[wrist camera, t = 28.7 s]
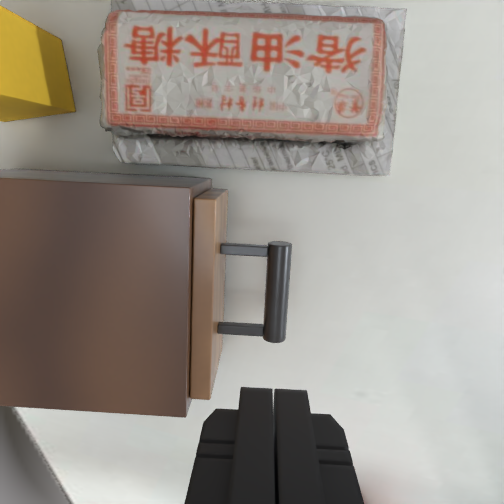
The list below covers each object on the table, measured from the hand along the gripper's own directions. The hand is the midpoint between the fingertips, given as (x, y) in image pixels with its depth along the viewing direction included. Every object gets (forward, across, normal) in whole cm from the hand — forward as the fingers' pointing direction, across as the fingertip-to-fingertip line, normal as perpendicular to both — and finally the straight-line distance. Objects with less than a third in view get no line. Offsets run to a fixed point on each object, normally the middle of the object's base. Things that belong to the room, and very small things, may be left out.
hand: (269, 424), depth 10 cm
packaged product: (+21, +1, -10) cm, 24 cm away
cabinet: (+21, +11, +2) cm, 24 cm away
